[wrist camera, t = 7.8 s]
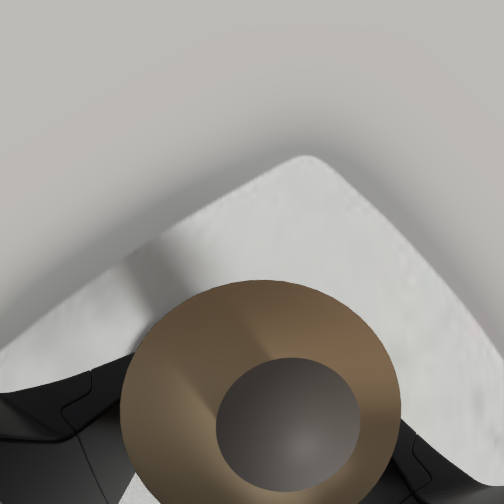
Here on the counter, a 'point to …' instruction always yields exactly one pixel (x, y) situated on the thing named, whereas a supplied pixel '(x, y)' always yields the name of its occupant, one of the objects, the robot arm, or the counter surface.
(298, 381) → the driver handle
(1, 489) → the robot arm
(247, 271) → the counter surface
